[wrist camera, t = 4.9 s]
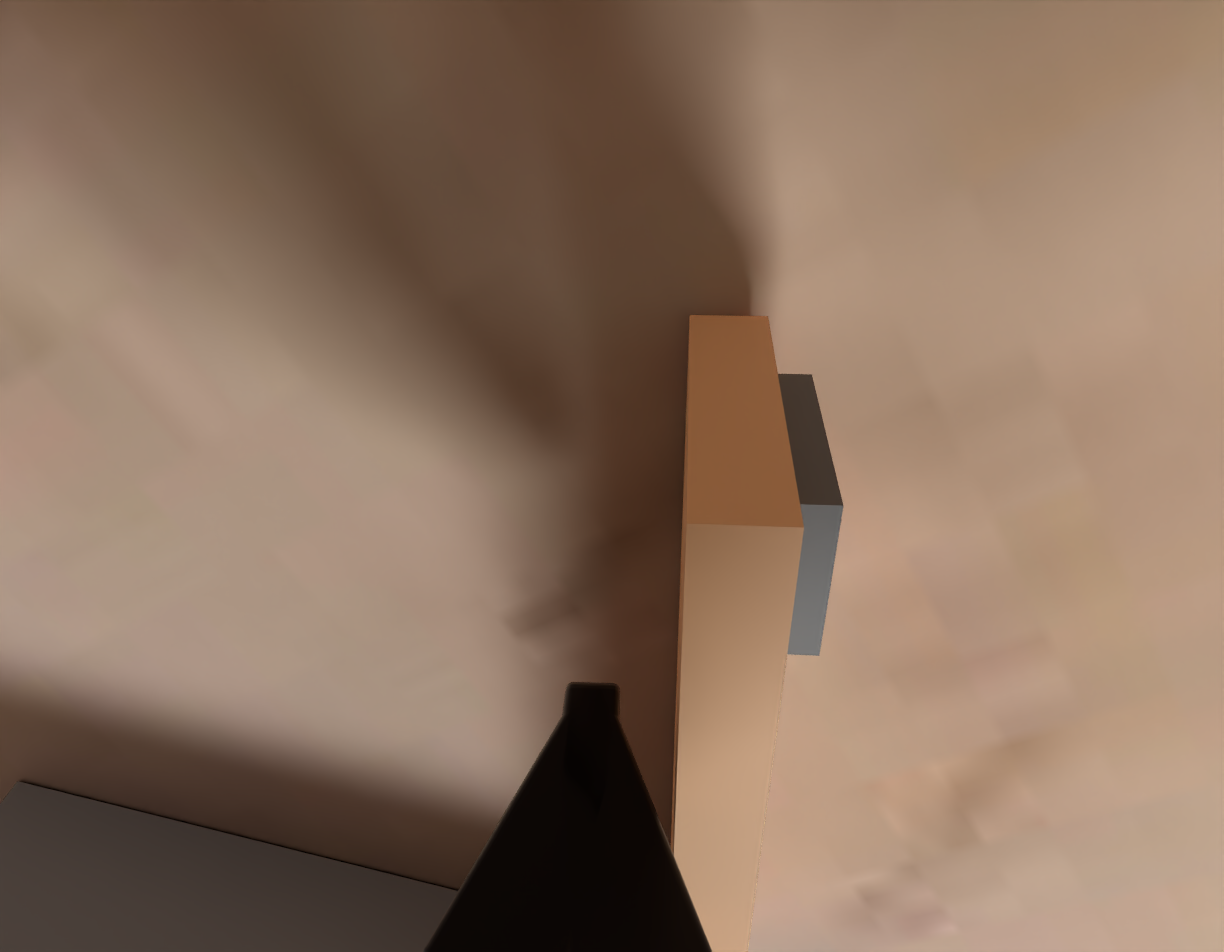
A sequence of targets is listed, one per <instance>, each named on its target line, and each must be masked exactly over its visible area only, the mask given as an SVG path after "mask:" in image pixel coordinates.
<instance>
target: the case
mask: <svg viewBox="0 0 1224 952" xmlns="http://www.w3.org/2000/svg"><path fill="white" fill-rule="evenodd" d="M457 892H458V891H456V890H452V889H448V888H444V887H440V886H436V885H432V884H428V883H424V882H420V881H416V880H412V879H408V878H404V877H400V876H396V875H392V874H388V873H384V872H380V871H376V870H372V869H368V868H364V867H360V866H356V865H352V864H348V863H344V862H340V861H336V860H332V859H328V858H324V857H320V856H315V855H311V854H307V853H303V852H299V851H295V850H291V849H287V848H283V847H279V846H275V845H271V844H267V843H263V842H259V841H255V840H251V839H247V838H243V837H239V836H235V835H231V834H227V833H223V832H219V831H215V830H211V829H207V828H203V827H199V826H195V825H191V824H187V823H183V822H179V821H175V820H171V819H167V818H163V817H159V816H155V815H151V814H147V813H143V812H139V811H135V810H131V809H127V808H123V807H119V806H115V805H111V804H107V803H103V802H99V801H95V800H91V799H87V798H83V797H79V796H75V795H71V794H67V793H63V792H59V791H55V790H51V789H47V788H43V787H39V786H35V785H31V784H27V783H23V782H19V781H17V782H16V784H15V785H14V786H13V788H12V789H11V790H10V792H9V793H8V794H7V796H6V797H5V798H4V799H3V801H2V802H1V803H0V952H424V948H425V946H426V944H427V943H428V941H429V939H430V938H431V936H432V934H433V933H434V931H435V929H436V927H437V926H438V924H439V922H440V921H441V919H442V917H443V916H444V914H445V912H446V911H447V909H448V907H449V906H450V904H451V902H452V901H453V899H454V897H455V895H456V894H457Z"/></svg>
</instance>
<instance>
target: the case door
mask: <svg viewBox="0 0 1224 952" xmlns="http://www.w3.org/2000/svg"><path fill="white" fill-rule="evenodd" d="M842 511H843V502H842V498H841V494H840V490H839V486H838V482H837V477H836V473H835V469H834V465H833V461H832V457H831V453H830V448H829V444H828V440H827V436H826V432H825V428H824V424H823V419H822V415H821V411H820V407H819V403H818V399H817V395H816V391H815V386H814V382H813V378H812V375H807V374H778V373H777V367H776V361H775V355H774V349H773V343H772V338H771V332H770V326H769V320H768V316H716V315H690V320H689V348H688V376H687V404H686V432H685V460H684V488H683V516H682V544H681V572H680V600H679V628H678V656H677V684H676V711H675V739H674V767H673V795H672V823H671V850H672V852H673V855H674V857H675V860H676V862H677V865H678V867H679V870H680V872H681V875H682V877H683V880H684V882H685V885H686V887H687V890H688V892H689V895H690V897H691V900H692V902H693V905H694V907H695V910H696V912H697V915H698V917H699V920H700V922H701V925H702V927H703V930H704V932H705V935H706V937H707V940H708V942H709V945H710V947H711V950H712V952H748V946H749V939H750V931H751V924H752V916H753V908H754V901H755V893H756V886H757V878H758V871H759V863H760V856H761V848H762V841H763V833H764V826H765V818H766V811H767V803H768V795H769V788H770V780H771V773H772V765H773V758H774V750H775V743H776V735H777V728H778V720H779V713H780V705H781V697H782V690H783V682H784V675H785V667H786V660H787V654H794V655H816V656H819V654H820V647H821V641H822V635H823V629H824V623H825V616H826V610H827V604H828V598H829V592H830V585H831V579H832V573H833V567H834V561H835V554H836V548H837V542H838V536H839V530H840V523H841V517H842Z"/></svg>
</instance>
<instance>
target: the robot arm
mask: <svg viewBox="0 0 1224 952" xmlns="http://www.w3.org/2000/svg"><path fill="white" fill-rule="evenodd" d="M424 952H712V950H711V947H710V945H709V942H708V940H707V937H706V935H705V932H704V930H703V927H702V925H701V922H700V920H699V917H698V915H697V912H696V910H695V907H694V905H693V902H692V900H691V897H690V895H689V892H688V890H687V887H686V885H685V882H684V880H683V877H682V875H681V872H680V870H679V867H678V865H677V862H676V860H675V857H674V855H673V852H672V850H671V847H670V845H669V842H668V840H667V837H666V835H665V833H664V830H663V828H662V825H661V823H660V820H659V818H658V815H657V813H656V810H655V808H654V805H653V803H652V800H651V798H650V795H649V793H648V790H647V788H646V785H645V783H644V780H643V778H642V775H641V773H640V770H639V768H638V765H637V763H636V760H635V758H634V755H633V753H632V750H631V748H630V745H629V743H628V740H627V738H626V735H625V733H624V730H623V728H622V725H621V723H620V688H619V686H618V685H616V684H614V683H588V682H571V683H569V684H568V685H567V687H566V692H565V699H564V706H563V714H562V717H561V719H560V720H559V722H558V724H557V726H556V727H555V729H554V731H553V732H552V734H551V736H550V737H549V739H548V741H547V742H546V744H545V746H544V747H543V749H542V751H541V752H540V754H539V756H538V758H537V759H536V761H535V763H534V764H533V766H532V768H531V769H530V771H529V773H528V774H527V776H526V778H525V779H524V781H523V783H522V784H521V786H520V788H519V789H518V791H517V793H516V795H515V796H514V798H513V800H512V801H511V803H510V805H509V806H508V808H507V810H506V811H505V813H504V815H503V816H502V818H501V820H500V821H499V823H498V825H497V827H496V828H495V830H494V832H493V833H492V835H491V837H490V838H489V840H488V842H487V843H486V845H485V847H484V848H483V850H482V852H481V853H480V855H479V857H478V858H477V860H476V862H475V864H474V865H473V867H472V869H471V870H470V872H469V874H468V875H467V877H466V879H465V880H464V882H463V884H462V885H461V887H460V889H459V890H458V892H457V894H456V895H455V897H454V899H453V901H452V902H451V904H450V906H449V907H448V909H447V911H446V912H445V914H444V916H443V917H442V919H441V921H440V922H439V924H438V926H437V927H436V929H435V931H434V933H433V934H432V936H431V938H430V939H429V941H428V943H427V944H426V946H425V948H424Z"/></svg>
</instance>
